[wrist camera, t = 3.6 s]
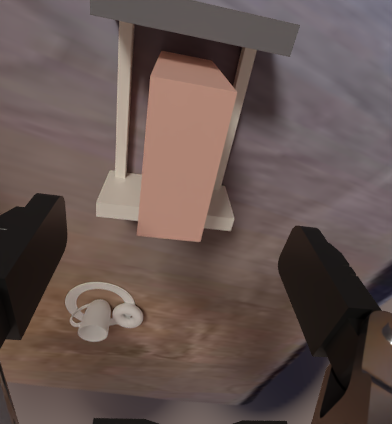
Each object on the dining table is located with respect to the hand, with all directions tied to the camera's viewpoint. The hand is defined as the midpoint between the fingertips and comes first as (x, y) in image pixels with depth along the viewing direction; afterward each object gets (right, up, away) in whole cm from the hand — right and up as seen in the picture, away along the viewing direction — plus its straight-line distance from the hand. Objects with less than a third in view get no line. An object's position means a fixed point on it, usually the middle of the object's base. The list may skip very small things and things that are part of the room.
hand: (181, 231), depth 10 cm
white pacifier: (-10, -12, +26) cm, 30 cm away
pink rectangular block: (-1, +8, +12) cm, 14 cm away
